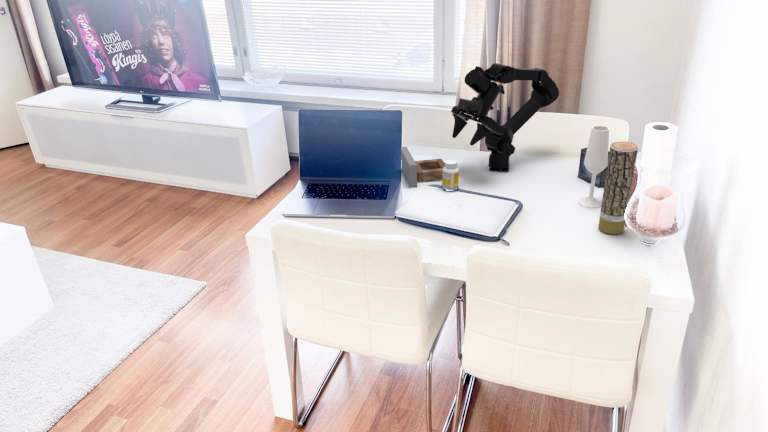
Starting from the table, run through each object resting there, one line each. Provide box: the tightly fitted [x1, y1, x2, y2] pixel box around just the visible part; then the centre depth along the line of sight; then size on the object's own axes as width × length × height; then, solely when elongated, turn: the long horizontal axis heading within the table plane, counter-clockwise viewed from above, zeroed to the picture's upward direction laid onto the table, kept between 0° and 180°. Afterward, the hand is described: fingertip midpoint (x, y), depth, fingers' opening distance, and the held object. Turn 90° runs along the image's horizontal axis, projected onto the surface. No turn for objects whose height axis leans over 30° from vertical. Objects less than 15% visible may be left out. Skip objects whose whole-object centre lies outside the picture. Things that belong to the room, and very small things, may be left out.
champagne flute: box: [578, 125, 610, 208], centre depth 175 cm, size 7×7×24 cm
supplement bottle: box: [441, 159, 460, 189], centre depth 191 cm, size 5×5×10 cm
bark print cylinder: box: [598, 140, 639, 235], centre depth 159 cm, size 7×7×25 cm
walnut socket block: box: [414, 158, 445, 184], centre depth 203 cm, size 11×11×4 cm
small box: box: [577, 147, 610, 189], centre depth 193 cm, size 11×6×10 cm, turn 25°
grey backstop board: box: [401, 146, 418, 188], centre depth 201 cm, size 2×18×8 cm, turn 9°
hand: (461, 141), depth 193 cm, fingers open, 9 cm apart
